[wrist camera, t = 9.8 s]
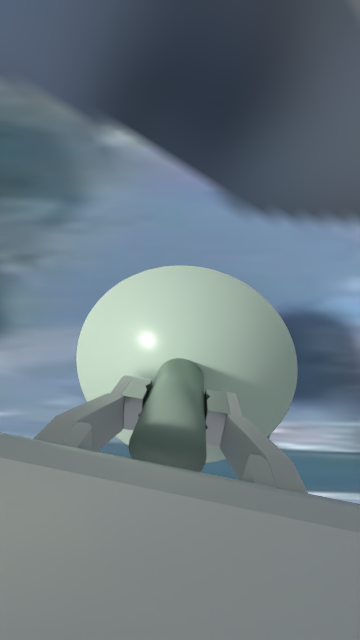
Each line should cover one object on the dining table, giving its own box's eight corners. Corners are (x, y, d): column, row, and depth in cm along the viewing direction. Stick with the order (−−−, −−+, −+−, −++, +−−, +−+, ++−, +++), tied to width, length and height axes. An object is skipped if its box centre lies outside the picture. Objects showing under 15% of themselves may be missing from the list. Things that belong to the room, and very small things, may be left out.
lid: (261, 467, 13) (301, 597, 8) (86, 433, 14) (20, 528, 9) (321, 282, 9) (467, 295, 4) (81, 252, 10) (-36, 234, 5)
